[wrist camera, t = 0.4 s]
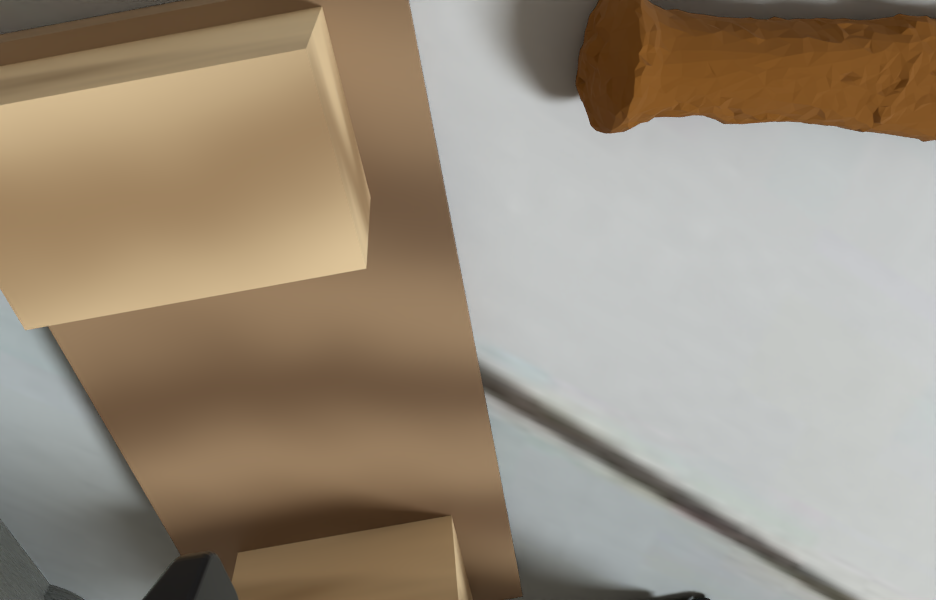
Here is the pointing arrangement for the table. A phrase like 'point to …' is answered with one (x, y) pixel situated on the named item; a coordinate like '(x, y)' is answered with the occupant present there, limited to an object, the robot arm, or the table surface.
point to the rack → (260, 288)
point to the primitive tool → (757, 70)
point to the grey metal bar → (24, 574)
